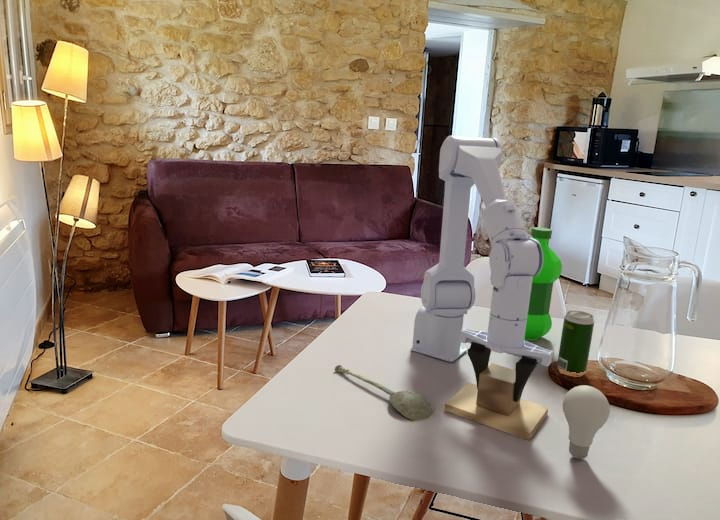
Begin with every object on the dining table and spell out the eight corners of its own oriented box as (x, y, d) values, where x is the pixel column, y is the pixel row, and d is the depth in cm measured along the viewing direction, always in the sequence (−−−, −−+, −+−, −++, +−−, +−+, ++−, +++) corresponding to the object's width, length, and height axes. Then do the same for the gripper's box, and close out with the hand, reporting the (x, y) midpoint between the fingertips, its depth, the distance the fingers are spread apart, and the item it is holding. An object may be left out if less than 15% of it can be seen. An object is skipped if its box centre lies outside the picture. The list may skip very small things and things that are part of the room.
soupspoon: (413, 432, 85) (440, 420, 89) (416, 412, 84) (443, 401, 88) (324, 376, 100) (350, 368, 104) (326, 359, 99) (352, 352, 103)
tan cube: (475, 404, 89) (479, 373, 88) (488, 392, 93) (492, 363, 92) (508, 415, 86) (513, 383, 85) (519, 403, 90) (524, 372, 89)
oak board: (444, 410, 89) (445, 403, 89) (468, 388, 97) (469, 382, 97) (528, 440, 82) (529, 433, 82) (547, 414, 90) (548, 407, 90)
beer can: (574, 380, 103) (583, 321, 100) (550, 369, 108) (559, 312, 105) (591, 375, 106) (601, 317, 103) (567, 364, 110) (576, 308, 108)
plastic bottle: (495, 334, 125) (508, 227, 119) (520, 325, 132) (534, 223, 126) (534, 348, 118) (550, 235, 112) (558, 338, 125) (575, 231, 119)
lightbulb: (598, 451, 80) (610, 383, 77) (601, 475, 74) (615, 402, 72) (554, 442, 82) (565, 374, 79) (554, 464, 76) (566, 392, 74)
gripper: (455, 310, 86) (447, 388, 90) (548, 333, 79) (535, 417, 82) (472, 300, 92) (464, 374, 95) (560, 320, 84) (548, 400, 88)
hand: (498, 393), depth 89 cm, fingers closed on tan cube, 5 cm apart
